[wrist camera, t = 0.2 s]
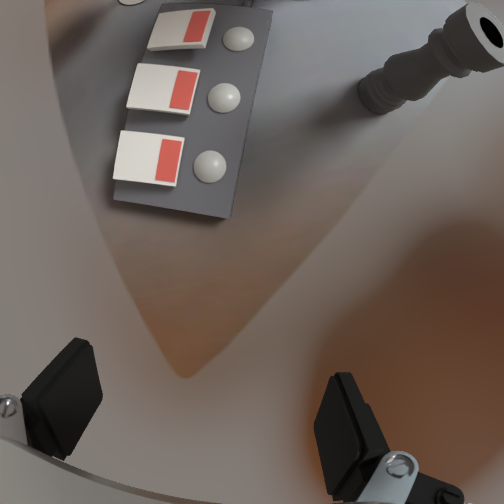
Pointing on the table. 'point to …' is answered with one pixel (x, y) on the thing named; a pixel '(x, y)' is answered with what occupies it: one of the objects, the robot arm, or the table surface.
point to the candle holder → (437, 60)
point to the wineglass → (131, 2)
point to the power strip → (206, 112)
